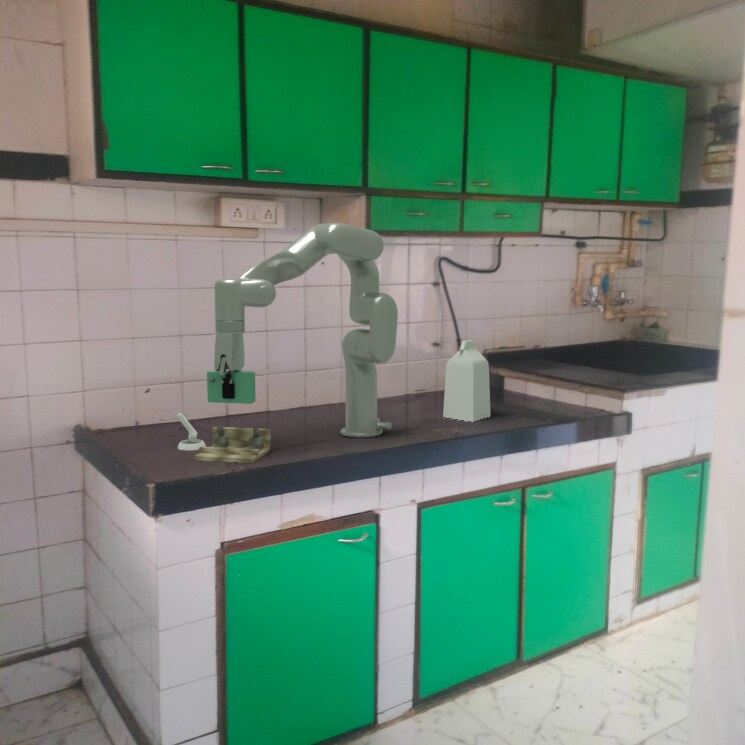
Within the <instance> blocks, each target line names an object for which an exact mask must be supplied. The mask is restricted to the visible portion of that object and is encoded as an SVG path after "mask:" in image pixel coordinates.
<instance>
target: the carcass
mask: <svg viewBox="0 0 745 745" xmlns="http://www.w3.org/2000/svg"><path fill="white" fill-rule="evenodd" d="M271 438H272V437H271V428H259V426H253V427H249V428H248V427H232V426H231V427H226V426H224V425H222V424H221V425H218V426H214V427H212V445H211V446H206V447H199V451H198V453H196V454H195V455H193V461H195V462H217V463H234V462H237V463H238V464H255V463H256V462H257V461H259V460H260V459H261V458H262V457H264V456H266V453H267V454H268V453H269V451H270V452H271V451H272V447H271V445H272V444H271V443H272V442H271ZM258 459H259V460H258ZM255 461H256V462H255ZM237 463H236V464H237Z"/></svg>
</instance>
